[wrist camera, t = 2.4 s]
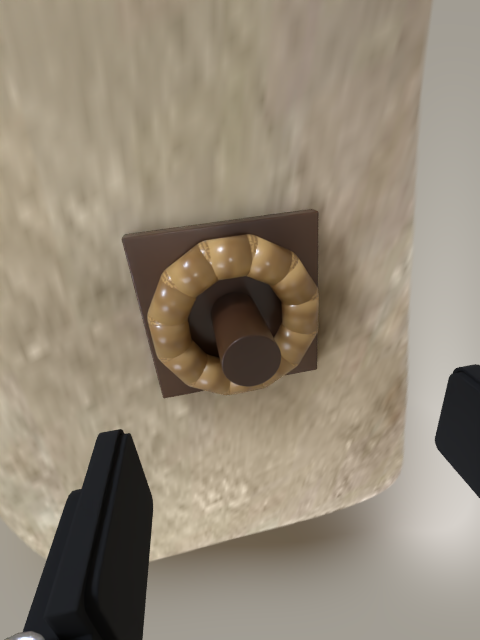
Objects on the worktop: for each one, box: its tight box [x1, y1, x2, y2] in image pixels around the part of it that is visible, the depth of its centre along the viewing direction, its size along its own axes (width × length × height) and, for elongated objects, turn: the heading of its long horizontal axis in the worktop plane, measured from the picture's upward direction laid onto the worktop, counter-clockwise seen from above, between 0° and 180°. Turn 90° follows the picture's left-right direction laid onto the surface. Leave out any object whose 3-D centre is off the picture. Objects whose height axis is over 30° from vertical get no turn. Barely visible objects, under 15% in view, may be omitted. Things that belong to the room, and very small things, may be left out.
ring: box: [147, 234, 319, 395], centre depth 16 cm, size 8×8×2 cm
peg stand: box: [122, 209, 318, 398], centre depth 15 cm, size 9×9×5 cm
